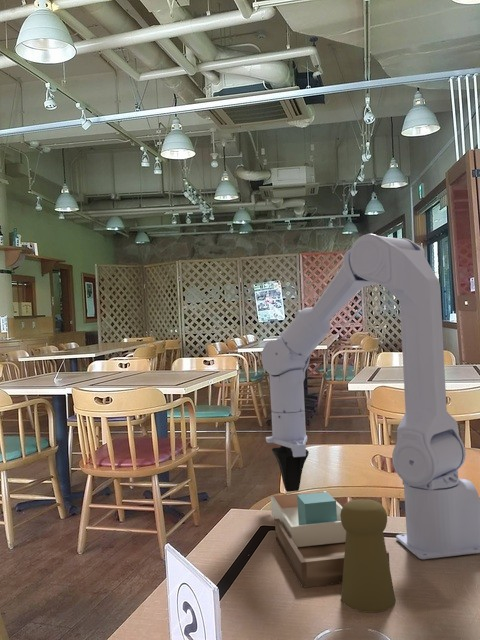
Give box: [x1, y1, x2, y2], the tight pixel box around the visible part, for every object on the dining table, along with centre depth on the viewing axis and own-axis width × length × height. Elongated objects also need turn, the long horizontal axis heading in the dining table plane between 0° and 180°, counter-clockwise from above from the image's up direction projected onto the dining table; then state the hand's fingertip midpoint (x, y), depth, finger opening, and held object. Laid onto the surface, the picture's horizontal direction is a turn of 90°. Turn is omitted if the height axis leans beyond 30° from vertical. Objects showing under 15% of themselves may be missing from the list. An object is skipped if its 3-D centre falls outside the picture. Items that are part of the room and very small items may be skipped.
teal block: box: [297, 491, 337, 525], centre depth 82 cm, size 4×4×4 cm
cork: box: [340, 498, 397, 613], centre depth 65 cm, size 6×6×11 cm
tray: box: [270, 490, 346, 547], centre depth 86 cm, size 9×15×3 cm, turn 8°
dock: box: [274, 518, 391, 588], centre depth 77 cm, size 11×16×3 cm
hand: (291, 490), depth 98 cm, fingers closed
